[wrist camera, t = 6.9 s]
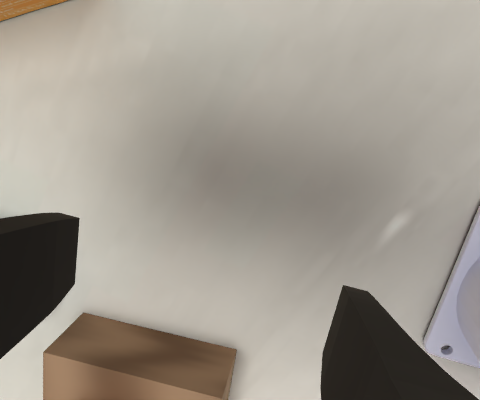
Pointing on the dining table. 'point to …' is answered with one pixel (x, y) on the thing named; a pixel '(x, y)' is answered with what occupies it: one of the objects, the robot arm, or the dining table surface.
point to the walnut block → (133, 364)
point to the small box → (22, 7)
